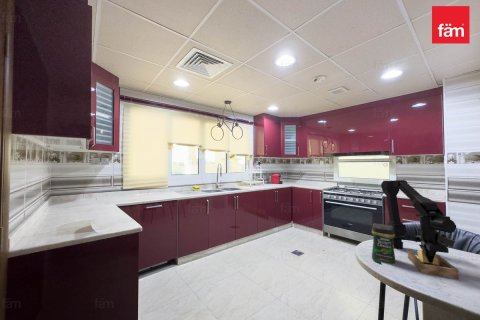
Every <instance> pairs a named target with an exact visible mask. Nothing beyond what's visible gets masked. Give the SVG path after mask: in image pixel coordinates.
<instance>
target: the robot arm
mask: <svg viewBox="0 0 480 320" xmlns="http://www.w3.org/2000/svg"><path fill="white" fill-rule="evenodd" d="M380 187H381V190H382V193H383V194H384V195H385V196H386V202H387V212H388V217H389V218H388V219H389V221H388V223H387V224H386V225H390V226H393V228H394V232H395V237H394V239H393V245H394V250H395V249H397V250H400V249H402V250H403V249H404V242H403V240H405V239H406V236H407V232H408V231H407V225H406V224H403V222H402V220H401V215H400V209H399V200H398V194H399V192H400V191H401V192H402V193H403V194H404V195H405V196H406V197H407V198H408V199H409V200H410V201H411V202H412V207H414V209H415V211H417V214H415V217H418V218H419V228H418V231H419V233H420V235H418V234H417V235H414V236H413V241H414V242H415V243H418V242H420V244H418V246H419V247H420V249H421V251H423V252H424V254H425V256H426V257H427V259H428V261H429V262H430V263H433V259H434V256H435V254H437V253H443V254H449V247H451V248H454V247H455V246H454V245H455V244H456V240H453V239H451V238H448V237H447V234H444V233H448V234H453V233H454V232H455V231H456V230H457V224H456V222H454V220H452V219H451V216H448V215H447V216H445V214H444V212H443V211H442V210H441V209H440V207H439V206H438V204H437V203H436V201H434V200H431V198H428V197H425V196H423V195H422V194H421V193H419V192H418V191H417V190H416V189H415V188H414V187H413V186H412V185H410V183H408V181H407V180H406V179H396V180H383V181H382V182H381V183H380ZM442 232H444V233H442ZM447 246H448V247H447Z"/></svg>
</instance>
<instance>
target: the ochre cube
mask: <svg viewBox="0 0 480 320" xmlns="http://www.w3.org/2000/svg"><path fill="white" fill-rule="evenodd" d="M417 255H418V256H417V258H418V259H419V260H420V261H421V262H426V263H430V262H429V261H428V259H427V257H426V256H425V254H424V252H423V250H417ZM432 264H437V260H436V255H435V256H434V259H433V263H432Z"/></svg>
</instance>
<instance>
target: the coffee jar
mask: <svg viewBox="0 0 480 320" xmlns="http://www.w3.org/2000/svg"><path fill="white" fill-rule="evenodd" d="M371 234H372V239H373V240H372V250H371V260H373V262H376V263H379V264H382V263H386V264H389V265H390V264H392V265H393V264H396V254H395V248H394V245H393V239H394V237H395V232H394V228H393V226H390V225H387V224H383V223H375V222H373V224H372V227H371Z"/></svg>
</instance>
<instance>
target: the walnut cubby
mask: <svg viewBox="0 0 480 320" xmlns="http://www.w3.org/2000/svg"><path fill="white" fill-rule="evenodd" d="M435 255H436V260H437V264H432V263H426V262H421V261H420V260H419V257H418V256H417V255H415V254H414V252H412V251H411V250H407V258H408V260H409V261H410V262H411V263H412V264H413V265H414V266H415V267H416V268H417V270H418V271H419V272H420V273H421V274H426V275H430V276H431V275H432V276H436V277H437V276H438V277H443V278H449V279H454V280H456V279H457V280H459V276H460V275H459V270H458V269H457V268H456V267H455V266H453V264H452V263H450V262H448V261H447V259H445V258H443V256H442V255H440V254H437V253H436V254H435Z"/></svg>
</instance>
